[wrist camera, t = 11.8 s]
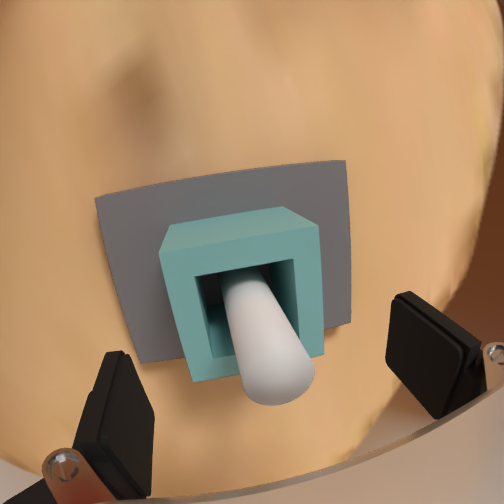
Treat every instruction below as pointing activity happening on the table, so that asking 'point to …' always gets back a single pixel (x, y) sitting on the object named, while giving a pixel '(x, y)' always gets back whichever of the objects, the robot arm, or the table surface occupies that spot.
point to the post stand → (237, 280)
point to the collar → (234, 257)
